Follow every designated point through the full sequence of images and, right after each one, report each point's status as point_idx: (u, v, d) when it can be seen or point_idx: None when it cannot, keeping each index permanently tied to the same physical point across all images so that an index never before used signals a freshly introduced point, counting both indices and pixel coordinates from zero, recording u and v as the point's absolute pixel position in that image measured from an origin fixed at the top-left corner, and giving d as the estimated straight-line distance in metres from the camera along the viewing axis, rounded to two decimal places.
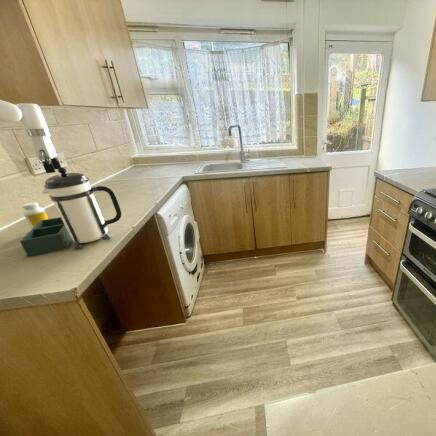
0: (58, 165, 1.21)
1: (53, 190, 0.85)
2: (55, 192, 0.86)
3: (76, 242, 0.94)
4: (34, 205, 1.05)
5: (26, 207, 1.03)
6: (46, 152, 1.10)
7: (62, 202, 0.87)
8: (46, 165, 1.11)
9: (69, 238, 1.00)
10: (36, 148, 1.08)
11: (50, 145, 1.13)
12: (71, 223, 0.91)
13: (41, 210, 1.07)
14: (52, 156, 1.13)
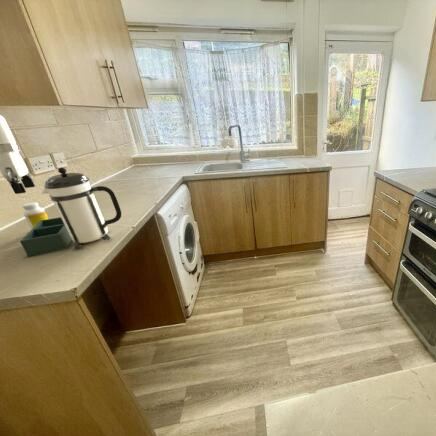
0: (31, 183, 1.06)
1: (53, 190, 0.85)
2: (55, 192, 0.86)
3: (76, 242, 0.94)
4: (34, 205, 1.05)
5: (26, 207, 1.03)
6: (14, 170, 0.96)
7: (62, 202, 0.87)
8: (14, 185, 0.97)
9: (69, 238, 1.00)
10: (1, 166, 0.94)
11: (19, 161, 0.99)
12: (71, 223, 0.91)
13: (41, 210, 1.07)
14: (22, 174, 0.99)
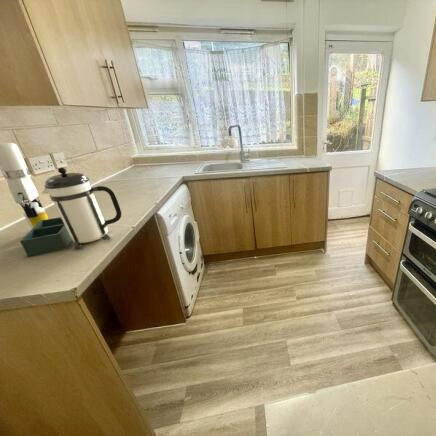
0: None
1: (53, 190, 0.85)
2: (55, 192, 0.86)
3: (76, 242, 0.94)
4: (34, 205, 1.05)
5: None
6: (25, 195, 1.00)
7: (62, 202, 0.87)
8: (27, 210, 1.02)
9: (69, 238, 1.00)
10: (13, 191, 0.98)
11: (30, 186, 1.03)
12: (71, 223, 0.91)
13: (41, 210, 1.07)
14: (32, 198, 1.03)
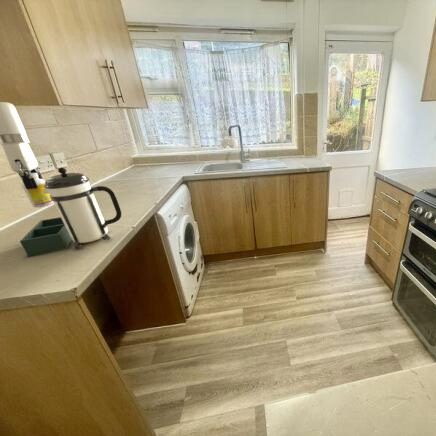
0: None
1: (53, 190, 0.85)
2: (55, 192, 0.86)
3: (76, 242, 0.94)
4: (34, 175, 0.94)
5: None
6: (23, 162, 0.89)
7: (62, 202, 0.87)
8: (26, 180, 0.91)
9: (69, 238, 1.00)
10: (10, 158, 0.87)
11: (29, 153, 0.92)
12: (71, 223, 0.91)
13: (41, 181, 0.96)
14: (31, 167, 0.92)
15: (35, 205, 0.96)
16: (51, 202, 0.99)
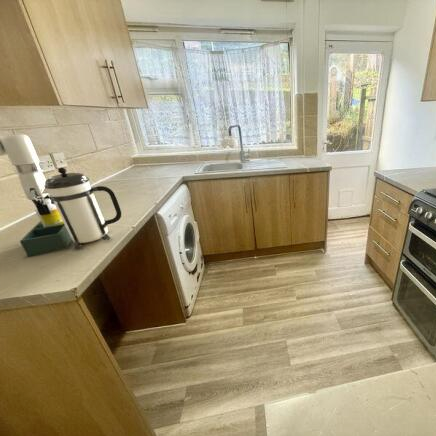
0: None
1: (53, 190, 0.85)
2: (55, 192, 0.86)
3: (76, 242, 0.94)
4: (47, 202, 0.98)
5: None
6: (37, 191, 0.93)
7: (62, 202, 0.87)
8: (40, 207, 0.95)
9: (69, 238, 1.00)
10: (25, 187, 0.91)
11: (42, 181, 0.96)
12: (71, 223, 0.91)
13: (54, 207, 1.00)
14: (45, 194, 0.96)
15: None
16: None
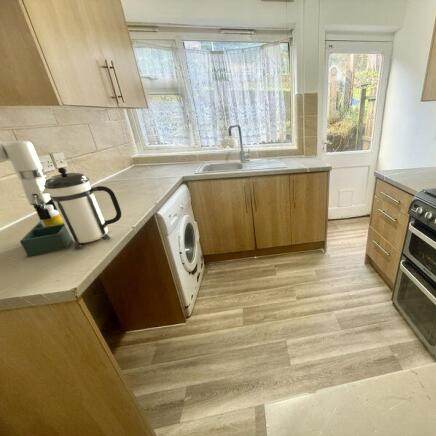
0: (54, 207, 1.04)
1: (53, 190, 0.85)
2: (55, 192, 0.86)
3: (76, 242, 0.94)
4: (49, 208, 0.99)
5: None
6: (40, 196, 0.94)
7: (62, 202, 0.87)
8: (40, 211, 0.95)
9: (69, 238, 1.00)
10: (28, 193, 0.92)
11: None
12: (71, 223, 0.91)
13: (56, 213, 1.01)
14: (47, 199, 0.97)
15: None
16: None
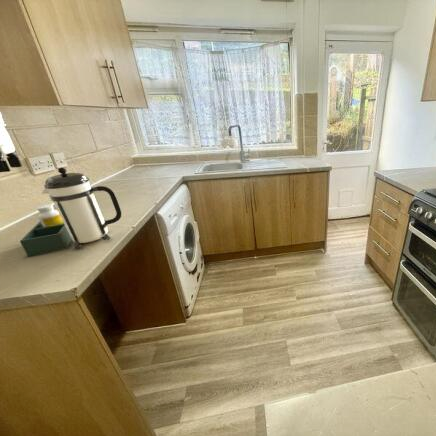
0: (17, 162, 0.97)
1: (53, 190, 0.85)
2: (55, 192, 0.86)
3: (76, 242, 0.94)
4: (49, 208, 0.99)
5: (41, 210, 0.98)
6: None
7: (62, 202, 0.87)
8: None
9: (69, 238, 1.00)
10: None
11: (4, 137, 0.90)
12: (71, 223, 0.91)
13: (56, 213, 1.01)
14: (6, 151, 0.90)
15: None
16: None
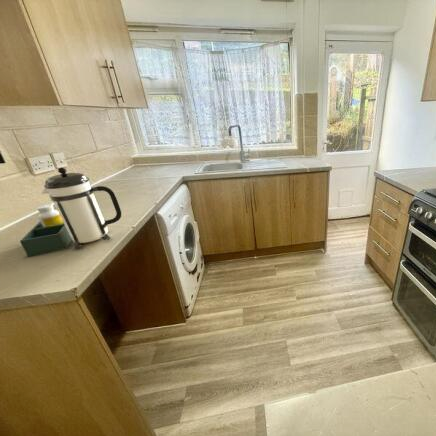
0: (1, 159, 0.97)
1: (53, 190, 0.85)
2: (55, 192, 0.86)
3: (76, 242, 0.94)
4: (49, 208, 0.99)
5: (41, 210, 0.98)
6: None
7: (62, 202, 0.87)
8: None
9: (69, 238, 1.00)
10: None
11: None
12: (71, 223, 0.91)
13: (56, 213, 1.01)
14: None
15: None
16: None
